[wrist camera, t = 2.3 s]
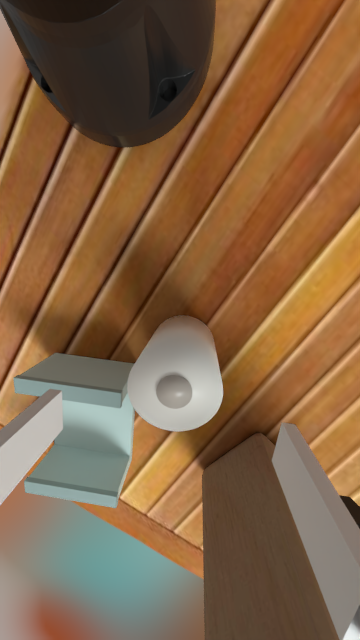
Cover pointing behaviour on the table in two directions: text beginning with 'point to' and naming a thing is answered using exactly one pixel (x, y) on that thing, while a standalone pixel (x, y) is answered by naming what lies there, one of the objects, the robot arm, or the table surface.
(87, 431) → the cradle
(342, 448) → the table surface
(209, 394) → the roll
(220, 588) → the wooden block
